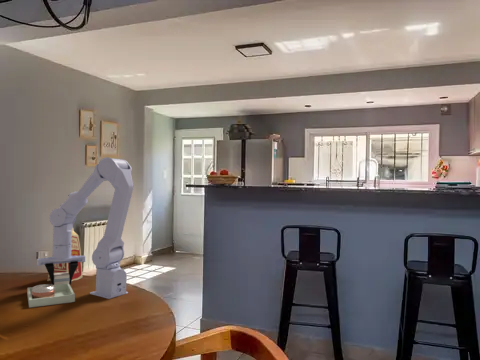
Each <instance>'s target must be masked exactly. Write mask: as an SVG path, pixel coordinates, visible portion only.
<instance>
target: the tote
mask: <svg viewBox="0 0 480 360" xmlns="http://www.w3.org/2000/svg"><path fill="white" fill-rule="evenodd" d="M33 287H34V286H32V287H27V288H26V289H27V294H26V295H27V302H28V308H38V307H44V306H53V305H61V304H69V303H75V302H76V294H75V292H74V290H73V288H72V286H71V285H70V284H59V285H55V296H54V297H46V298H37V299H32V288H33Z"/></svg>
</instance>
